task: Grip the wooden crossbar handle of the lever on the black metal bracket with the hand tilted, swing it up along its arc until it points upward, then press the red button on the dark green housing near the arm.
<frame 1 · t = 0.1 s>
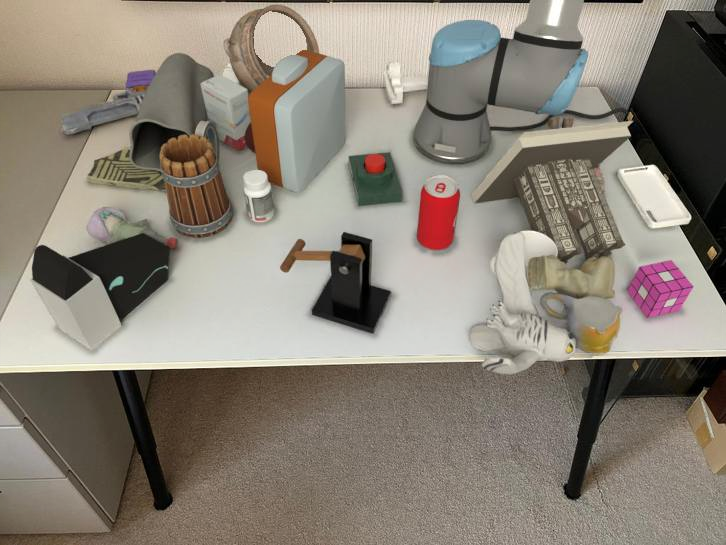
vase: (189, 72, 133), point 5 cm above the table, touching pottery shard, toy car
figurine 2: (265, 114, 128), point 2 cm above the table, touching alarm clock
pill bottle: (261, 214, 110), on the table
pottery shard: (128, 182, 116), on the table, touching vase
sculpture: (607, 279, 97), point 2 cm above the table, touching cup
button: (375, 163, 113), point 4 cm above the table, slide at 0.1 cm
puzzle toy: (652, 301, 97), on the table
decorative object: (121, 299, 97), on the table
lever: (323, 255, 90), point 9 cm above the table, hinge at -20.0°
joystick: (387, 79, 134), point 4 cm above the table
building model: (547, 158, 105), point 10 cm above the table, touching cup, figurine
cup: (516, 278, 100), on the table, touching building model, sculpture
mug 2: (580, 302, 88), point 7 cm above the table, touching toy
mug: (208, 210, 111), on the table
handgun: (102, 83, 135), point 2 cm above the table
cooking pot: (252, 65, 135), point 5 cm above the table, touching toy car
toy: (489, 293, 84), point 10 cm above the table, touching mug 2
toy 2: (170, 252, 102), point 1 cm above the table
bracket: (352, 305, 96), on the table
toy car: (238, 91, 137), on the table, touching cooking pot, vase
figurine: (574, 163, 120), on the table, touching building model
button box: (374, 182, 116), on the table
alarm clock: (304, 163, 120), on the table, touching figurine 2
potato: (278, 148, 120), point 2 cm above the table
ink box: (233, 138, 125), on the table
phone case: (672, 224, 108), point 1 cm above the table
beverage can: (434, 241, 106), on the table
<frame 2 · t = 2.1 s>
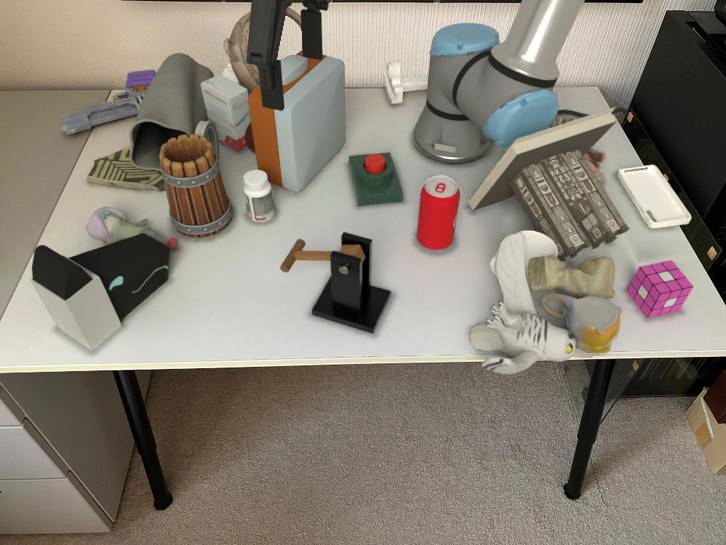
hand: (294, 81, 83), 30 cm above the table, tool pointing down, fingers open, 13 cm apart
building model: (537, 156, 105), point 10 cm above the table
cup: (516, 278, 100), on the table, touching sculpture
figurine: (574, 163, 120), on the table
everything else where it was.
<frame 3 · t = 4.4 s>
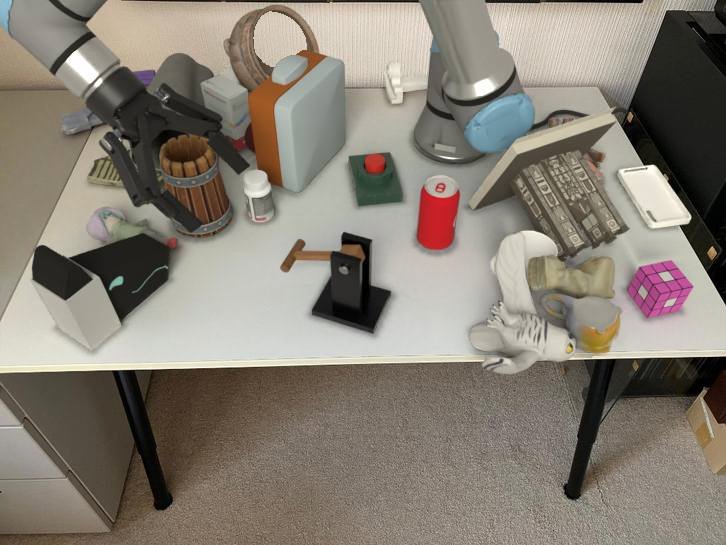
hand: (222, 198, 89), 15 cm above the table, tool tilted 45°, fingers open, 13 cm apart
nothing on the table moved.
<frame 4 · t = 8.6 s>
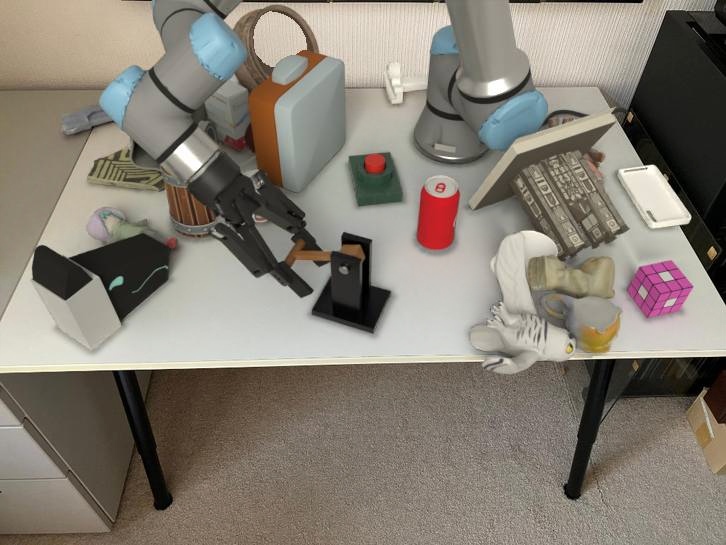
hand: (316, 278, 95), 4 cm above the table, tool tilted 45°, fingers closed on lever, 6 cm apart
lever: (323, 255, 90), point 9 cm above the table, hinge at -20.0°, touching gripper
everything else where it was.
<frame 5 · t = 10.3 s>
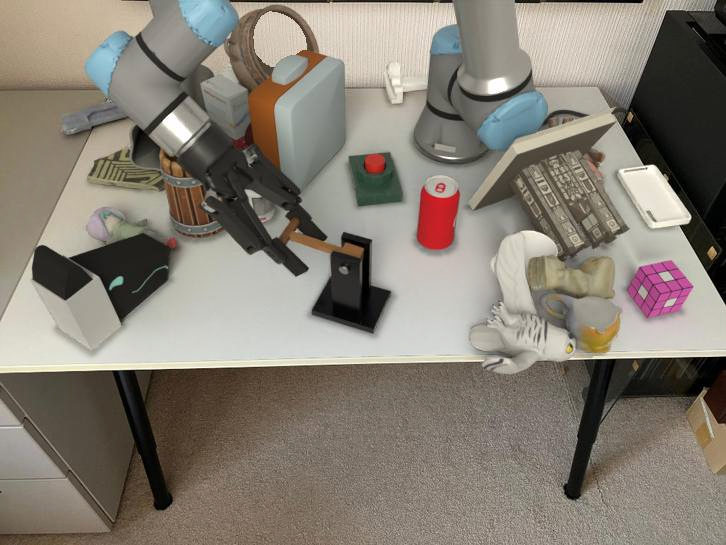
hand: (312, 256, 91), 9 cm above the table, tool tilted 45°, fingers closed on lever, 6 cm apart
sculpture: (607, 279, 97), point 2 cm above the table, touching cup, mug 2
lever: (321, 245, 89), point 11 cm above the table, hinge at 4.5°, touching gripper
mug 2: (580, 302, 88), point 7 cm above the table, touching sculpture, toy
everything else where it was.
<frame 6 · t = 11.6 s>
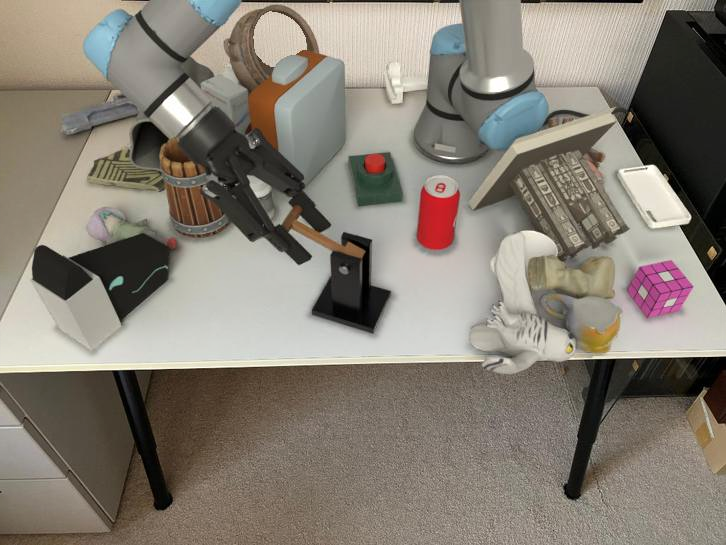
hand: (315, 244, 89), 11 cm above the table, tool tilted 45°, fingers open, 6 cm apart
sculpture: (607, 279, 97), point 2 cm above the table, touching cup
lever: (322, 240, 88), point 13 cm above the table, hinge at 19.9°
mug 2: (579, 302, 88), point 7 cm above the table, touching toy
everything else where it was.
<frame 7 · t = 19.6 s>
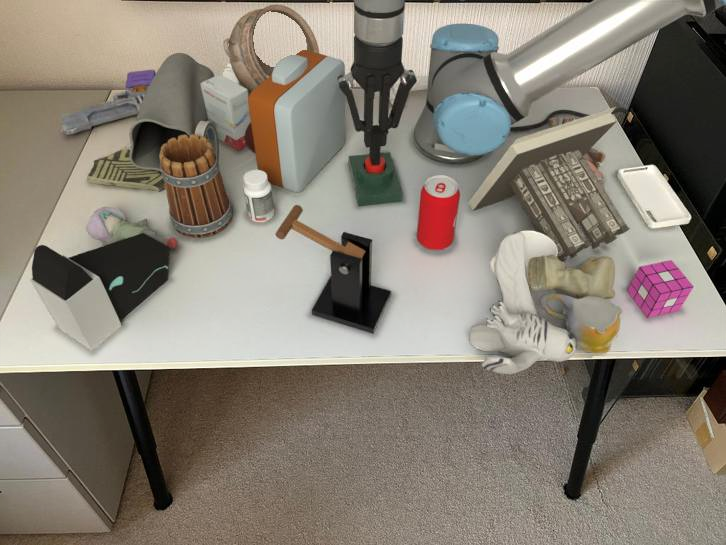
hand: (374, 159, 112), 5 cm above the table, tool pointing down, fingers closed
sculpture: (607, 279, 97), point 2 cm above the table, touching cup, mug 2
button: (375, 165, 113), point 4 cm above the table, slide at -0.2 cm, touching gripper
mug 2: (579, 302, 88), point 7 cm above the table, touching sculpture, toy
everything else where it was.
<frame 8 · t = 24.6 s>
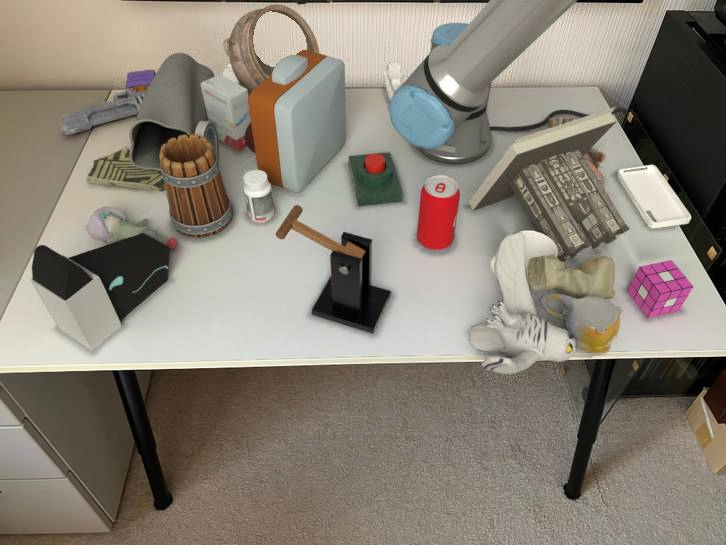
hand: (301, 0, 104), 28 cm above the table, tool pointing down, fingers closed
button: (375, 163, 113), point 4 cm above the table, slide at 0.1 cm
everything else where it was.
at the end: lever at +20° (first picture: -20°); button pushed in 1.0 cm at the most during the clip, back to where it started at the end; button slide at 0.1 cm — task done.
